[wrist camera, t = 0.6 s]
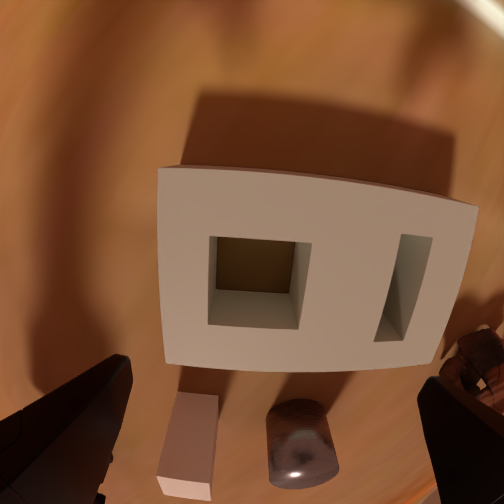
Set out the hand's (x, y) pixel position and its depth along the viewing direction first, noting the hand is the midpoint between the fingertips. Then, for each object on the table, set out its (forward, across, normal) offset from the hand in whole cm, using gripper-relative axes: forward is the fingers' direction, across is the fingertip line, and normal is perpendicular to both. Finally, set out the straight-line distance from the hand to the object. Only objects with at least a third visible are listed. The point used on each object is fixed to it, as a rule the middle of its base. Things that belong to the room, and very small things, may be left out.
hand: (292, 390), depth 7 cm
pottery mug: (+11, -19, +9) cm, 24 cm away
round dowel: (+10, -4, +14) cm, 18 cm away
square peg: (+10, +4, +13) cm, 17 cm away
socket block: (+10, -3, 0) cm, 11 cm away
